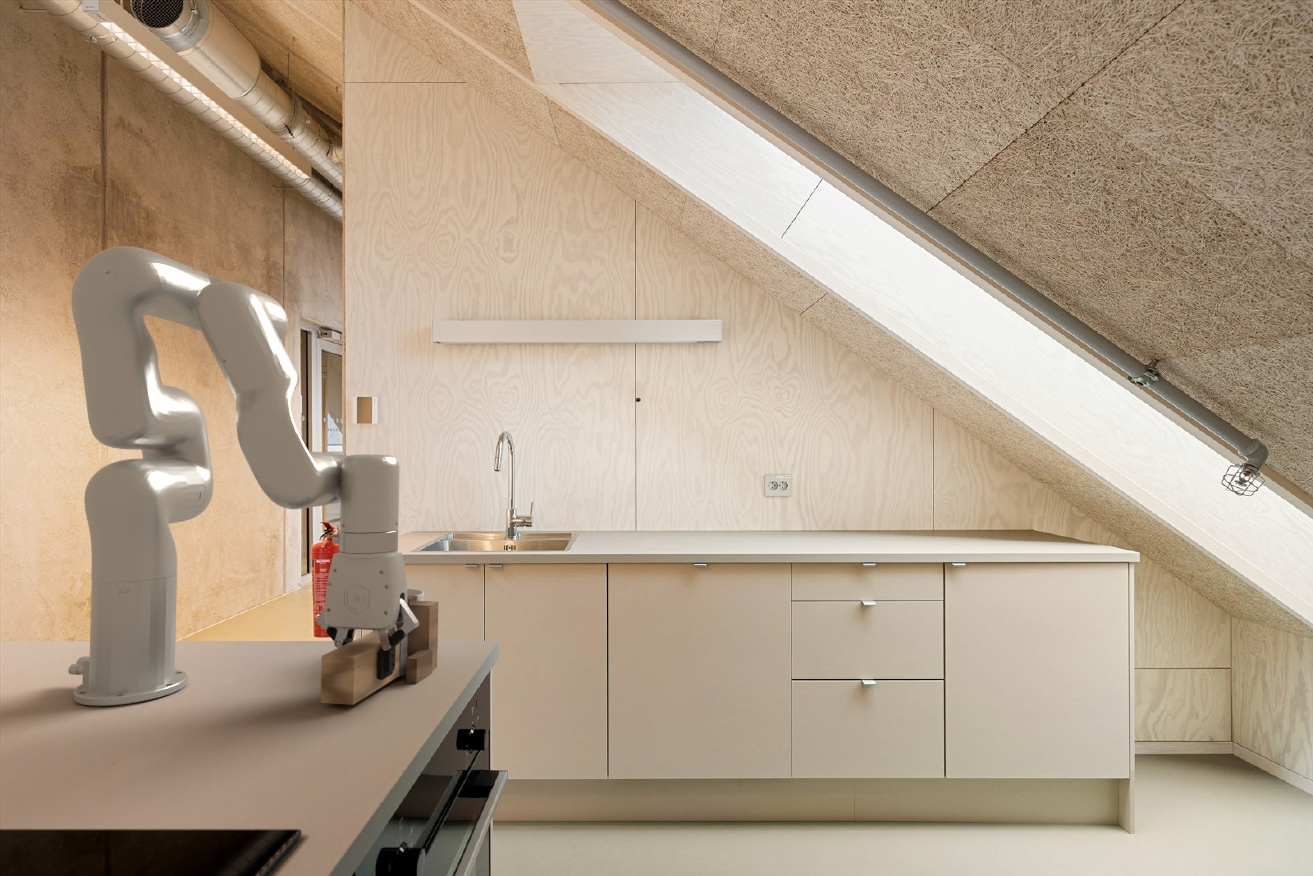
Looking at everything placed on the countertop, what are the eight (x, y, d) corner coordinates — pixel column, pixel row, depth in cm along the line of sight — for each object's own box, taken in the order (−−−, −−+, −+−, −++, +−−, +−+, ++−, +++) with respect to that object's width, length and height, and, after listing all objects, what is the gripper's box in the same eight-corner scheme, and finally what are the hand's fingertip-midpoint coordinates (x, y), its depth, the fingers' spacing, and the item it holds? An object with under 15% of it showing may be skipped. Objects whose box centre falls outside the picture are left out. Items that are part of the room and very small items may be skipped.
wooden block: (319, 702, 93) (320, 655, 93) (376, 669, 107) (377, 629, 107) (354, 704, 93) (355, 657, 93) (406, 671, 107) (407, 630, 107)
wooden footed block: (350, 679, 105) (351, 604, 105) (378, 663, 113) (380, 593, 113) (416, 683, 104) (418, 607, 104) (440, 667, 112) (442, 596, 112)
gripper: (295, 545, 98) (292, 680, 97) (414, 549, 95) (411, 688, 95) (328, 538, 105) (325, 664, 105) (439, 542, 103) (436, 671, 102)
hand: (366, 674), depth 100 cm, fingers open, 4 cm apart
